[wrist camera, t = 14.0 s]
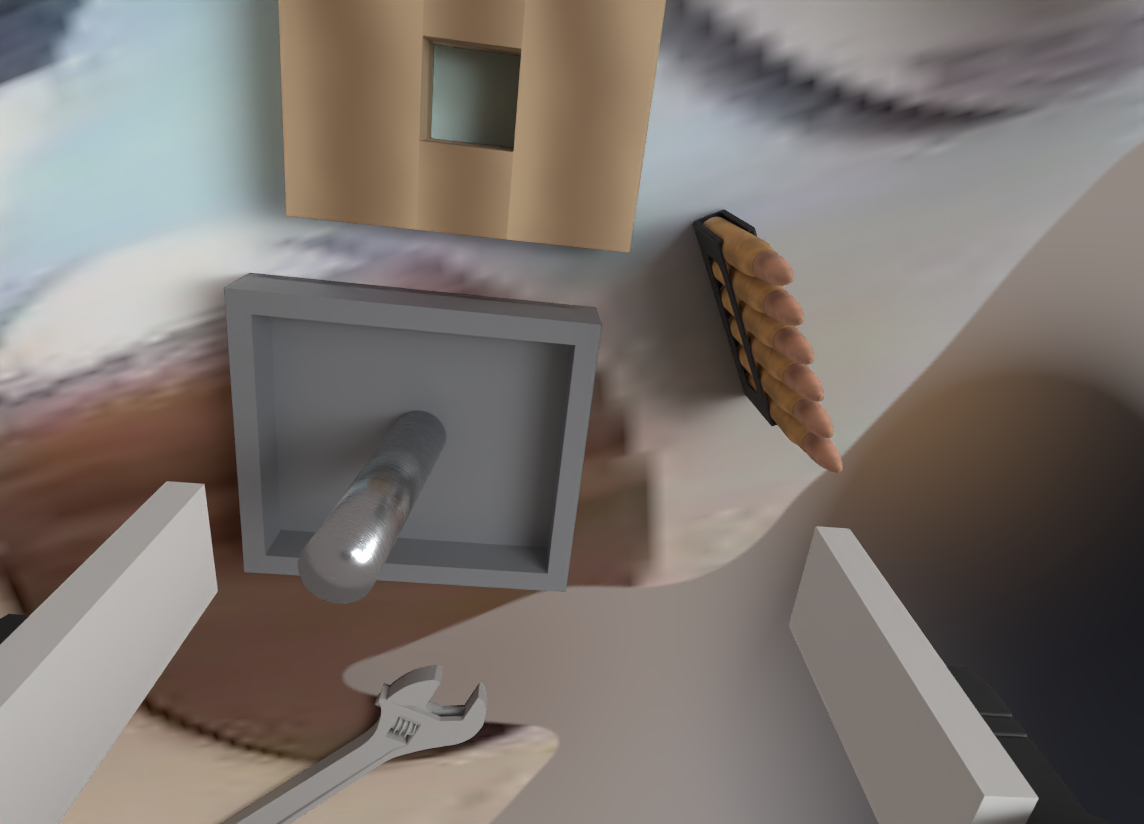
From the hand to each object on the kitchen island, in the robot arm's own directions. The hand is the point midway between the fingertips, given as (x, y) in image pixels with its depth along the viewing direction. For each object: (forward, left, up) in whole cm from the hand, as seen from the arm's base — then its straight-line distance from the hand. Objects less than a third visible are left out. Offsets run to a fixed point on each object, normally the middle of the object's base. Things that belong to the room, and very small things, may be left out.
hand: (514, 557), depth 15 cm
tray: (+5, +9, -25) cm, 27 cm away
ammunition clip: (-12, 0, -25) cm, 28 cm away
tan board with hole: (+3, -9, -25) cm, 27 cm away
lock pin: (+5, +9, -24) cm, 26 cm away
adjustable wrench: (+11, +35, -26) cm, 45 cm away
